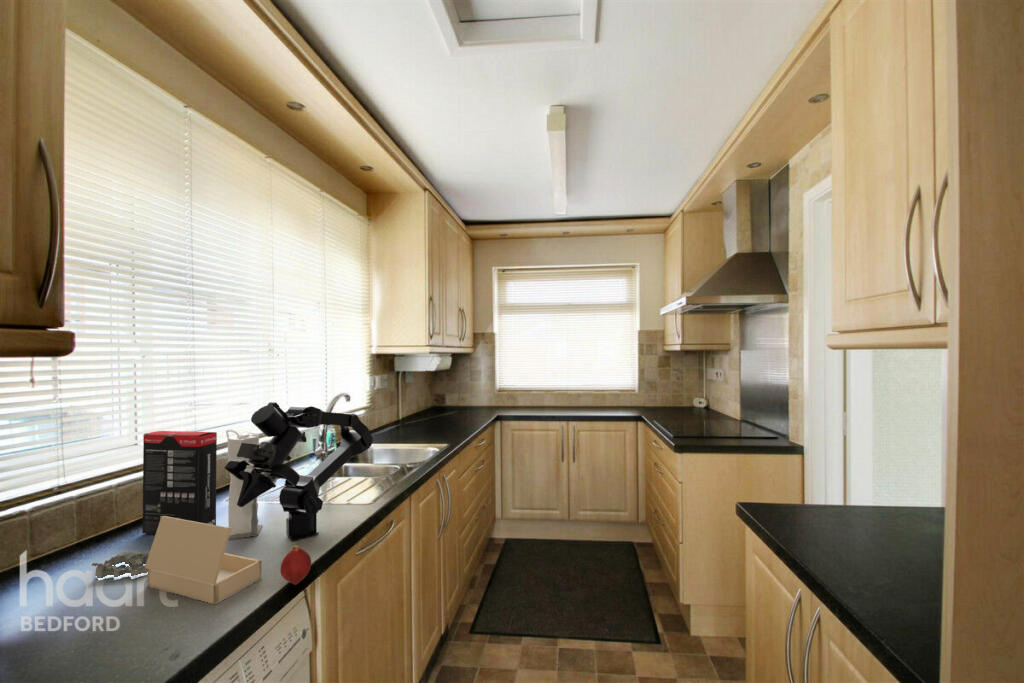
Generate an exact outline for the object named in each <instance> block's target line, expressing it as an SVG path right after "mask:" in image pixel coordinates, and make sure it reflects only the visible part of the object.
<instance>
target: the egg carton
mask: <svg viewBox="0 0 1024 683" xmlns="http://www.w3.org/2000/svg"><path fill="white" fill-rule="evenodd" d="M149 553H150V551H148V550H144V551H138V552H133V551H124V552H121V553H118V554H116V555H115V556H113V557H112V556H111V558H110V559H109V560H105V561H104V563H99V562H92V564H91V566H92V567H93V566H94V567H96V568H95V572H94V573H95V576H97V578H103V577H105V576H107V575H114V577H118V576H120V575H123V574H125V573H131V576H134V575H138V574H141V573H147V572H148V569H147V568H145V566H143V564H146V562H147V559H148V556H149ZM122 562H125V564H129V566H130V567H129V566H127V567H126V568H125V567H123V568H120V569H118V568H116V566H115V565H116V564H119V563H122ZM112 565H114V566H112ZM95 576H94V577H95Z"/></svg>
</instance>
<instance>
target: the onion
mask: <svg viewBox="0 0 1024 683" xmlns="http://www.w3.org/2000/svg"><path fill="white" fill-rule="evenodd" d="M311 566H312V558H311V556H310V554H309V553H308V552H307V551H306V550H305V549H304V548H303V549H302V548H300V546H299V545H294V546H293V547H292V550H290V551H289V552H288V553H286V555H285V556H284V557H283V559H282V561H281V564H280V576H281V577H282V579H284V581H287V582H289V583H291V584H292V585H298V584H299V583H300V582H302V580H304V579H305V578H306V576H308V575H309V573H310V571H311Z"/></svg>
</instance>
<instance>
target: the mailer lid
mask: <svg viewBox="0 0 1024 683" xmlns="http://www.w3.org/2000/svg"><path fill="white" fill-rule="evenodd" d="M230 532H231V528H229V526H228V527H227V526H221V525H217V524H216V525H211V524H206V523H200V522H194V521H189V520H183V519H178V518H172V517H167V516H162V517H161V520H160V523H159V526H158V529H157V532H156V534H154V539H153V541H152V544H151V548H150V551H149V552H150V553H149V556H148V559H147V562H146V565H145V568H147V569H151V570H156V571H160V572H164V573H168V574H172V575H176V576H180V577H184V578H188V579H192V580H196V581H200V582H204V583H208V584H213V585H214V584H216V582H217V578H218V575H219V571H220V567H221V564H222V560H223V557H224V553H226V549H227V546H228V543H229V540H228V539H229V535H230Z"/></svg>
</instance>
